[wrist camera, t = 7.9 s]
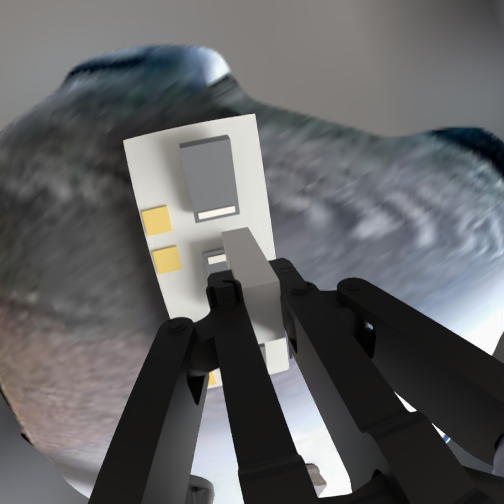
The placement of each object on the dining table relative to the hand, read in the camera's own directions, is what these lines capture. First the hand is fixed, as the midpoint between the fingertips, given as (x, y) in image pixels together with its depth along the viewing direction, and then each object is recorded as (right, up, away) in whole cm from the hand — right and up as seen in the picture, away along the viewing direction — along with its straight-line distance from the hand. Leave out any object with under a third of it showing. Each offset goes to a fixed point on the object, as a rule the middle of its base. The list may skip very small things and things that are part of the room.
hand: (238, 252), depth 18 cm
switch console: (-4, -1, +19) cm, 19 cm away
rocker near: (-3, +6, +8) cm, 11 cm away
